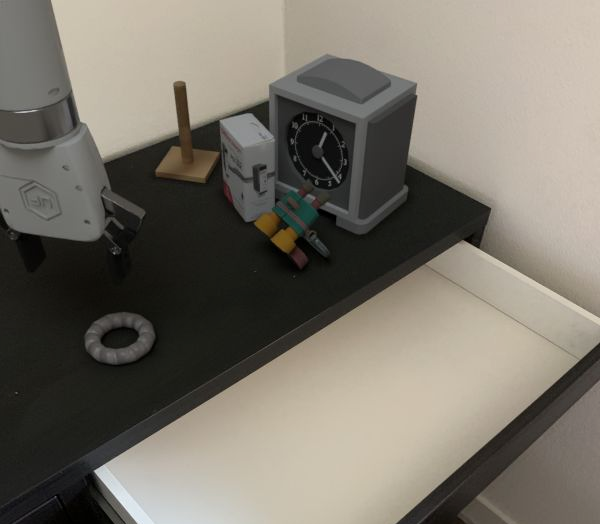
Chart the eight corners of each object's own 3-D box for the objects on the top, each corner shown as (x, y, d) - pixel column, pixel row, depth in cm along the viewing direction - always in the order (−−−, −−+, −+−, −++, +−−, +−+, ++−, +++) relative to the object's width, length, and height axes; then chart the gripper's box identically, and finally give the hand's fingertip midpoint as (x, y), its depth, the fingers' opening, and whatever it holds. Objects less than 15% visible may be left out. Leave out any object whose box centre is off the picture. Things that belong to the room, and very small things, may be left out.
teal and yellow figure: (277, 251, 94) (241, 211, 86) (323, 205, 93) (292, 160, 85) (314, 287, 89) (280, 248, 81) (363, 238, 88) (334, 194, 80)
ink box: (222, 194, 100) (216, 117, 91) (251, 186, 101) (249, 110, 92) (246, 224, 95) (242, 146, 86) (276, 215, 96) (276, 138, 87)
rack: (155, 176, 102) (142, 92, 93) (173, 151, 108) (162, 68, 98) (205, 183, 102) (197, 98, 92) (220, 157, 107) (214, 75, 97)
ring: (75, 361, 76) (71, 350, 75) (103, 315, 81) (100, 304, 80) (141, 372, 75) (138, 361, 74) (165, 326, 80) (163, 315, 79)
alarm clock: (261, 191, 100) (258, 66, 87) (312, 157, 107) (317, 36, 94) (362, 236, 93) (376, 108, 80) (410, 196, 100) (430, 72, 87)
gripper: (-81, 122, 57) (-13, 281, 69) (109, 145, 54) (143, 305, 67) (-34, 85, 62) (21, 240, 74) (142, 105, 59) (168, 261, 72)
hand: (79, 271), depth 71 cm, fingers open, 9 cm apart
